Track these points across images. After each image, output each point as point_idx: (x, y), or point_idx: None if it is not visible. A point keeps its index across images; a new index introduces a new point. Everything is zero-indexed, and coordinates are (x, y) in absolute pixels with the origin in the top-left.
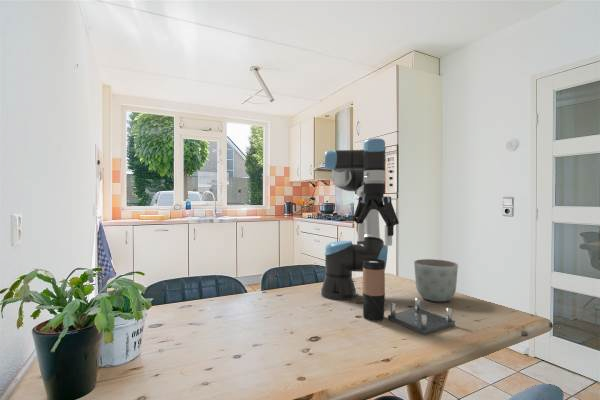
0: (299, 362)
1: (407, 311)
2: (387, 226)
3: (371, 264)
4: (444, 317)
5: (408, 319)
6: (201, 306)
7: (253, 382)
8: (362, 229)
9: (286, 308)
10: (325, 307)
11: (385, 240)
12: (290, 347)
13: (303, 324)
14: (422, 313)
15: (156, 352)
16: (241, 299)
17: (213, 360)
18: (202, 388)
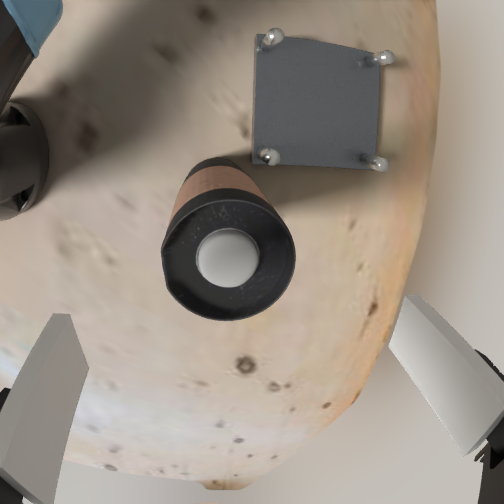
0: (297, 400)
1: (263, 86)
2: (483, 439)
3: (263, 304)
4: (353, 48)
5: (310, 141)
6: None
7: (300, 434)
8: (41, 426)
9: None
10: (85, 261)
11: (413, 370)
12: (253, 399)
13: (174, 356)
14: (301, 64)
15: (188, 475)
16: (9, 376)
17: (234, 453)
18: (280, 457)
